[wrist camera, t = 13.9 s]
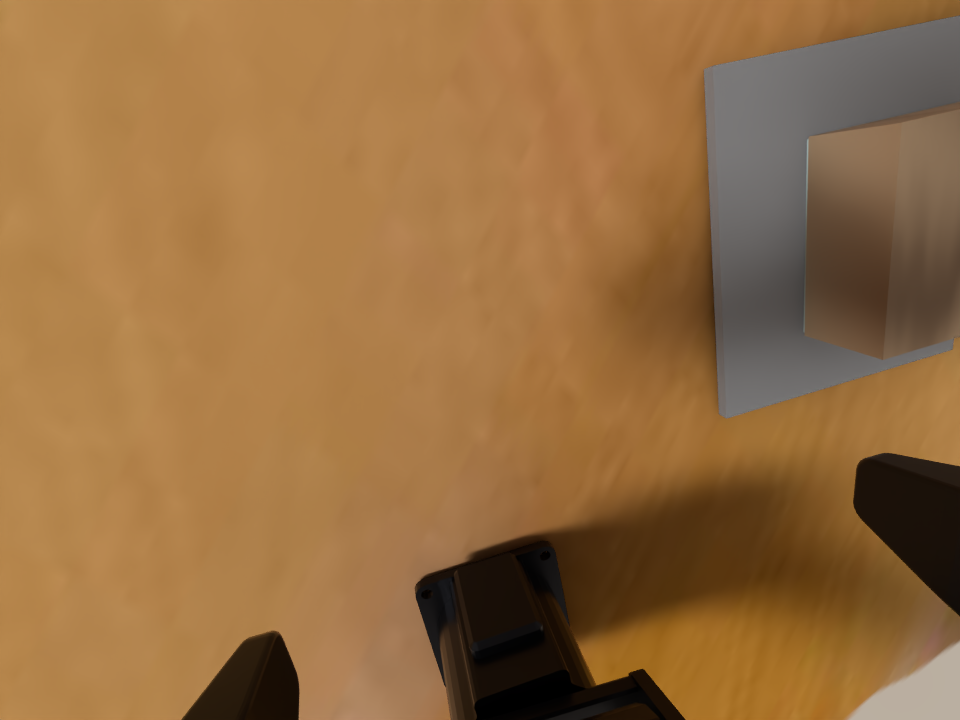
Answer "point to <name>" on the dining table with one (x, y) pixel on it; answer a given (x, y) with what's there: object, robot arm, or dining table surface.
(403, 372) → the dining table surface
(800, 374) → the rubber mat
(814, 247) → the light brown wooden block
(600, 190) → the dining table surface
